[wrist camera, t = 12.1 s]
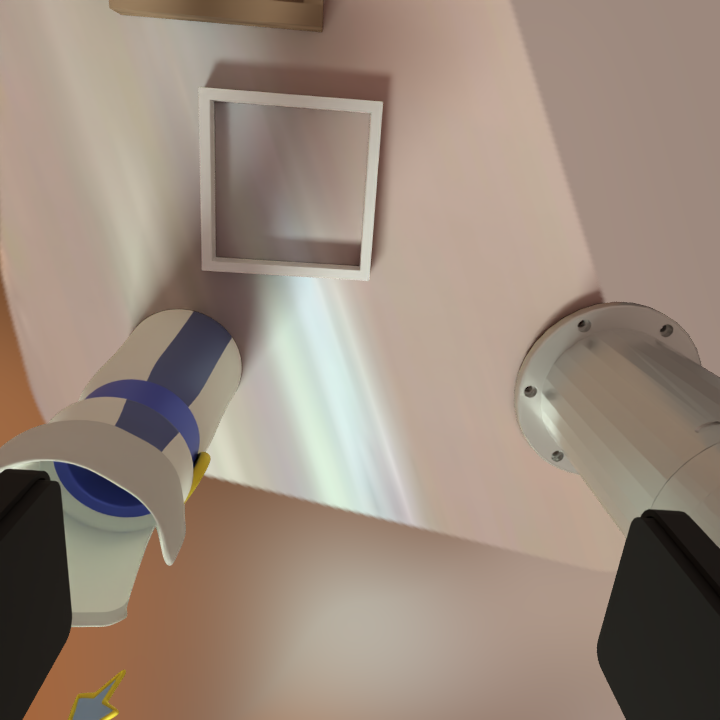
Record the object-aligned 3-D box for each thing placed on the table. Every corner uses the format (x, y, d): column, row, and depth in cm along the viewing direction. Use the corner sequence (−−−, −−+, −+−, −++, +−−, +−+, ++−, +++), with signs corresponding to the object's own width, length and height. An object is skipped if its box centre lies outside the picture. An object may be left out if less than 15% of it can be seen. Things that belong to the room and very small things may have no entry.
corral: (381, 103, 35) (383, 101, 34) (368, 276, 39) (369, 280, 37) (203, 88, 34) (198, 86, 33) (206, 265, 38) (201, 270, 37)
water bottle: (275, 350, 40) (192, 650, 17) (204, 442, 42) (41, 823, 19) (168, 276, 38) (-99, 496, 15) (99, 376, 40) (-231, 710, 17)
